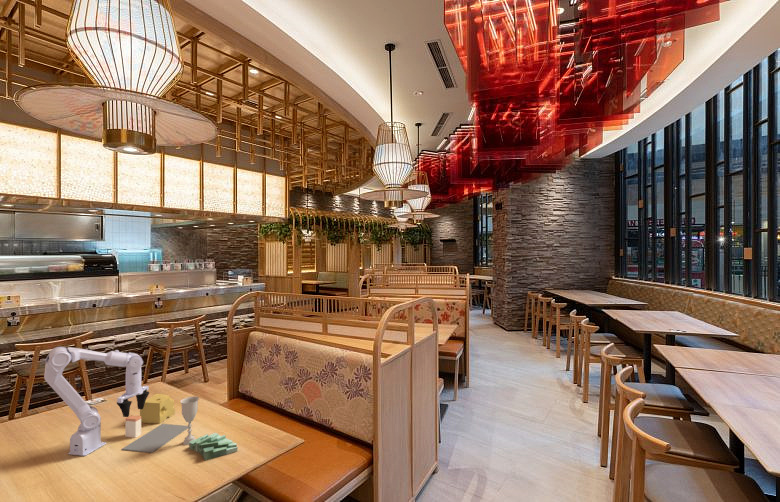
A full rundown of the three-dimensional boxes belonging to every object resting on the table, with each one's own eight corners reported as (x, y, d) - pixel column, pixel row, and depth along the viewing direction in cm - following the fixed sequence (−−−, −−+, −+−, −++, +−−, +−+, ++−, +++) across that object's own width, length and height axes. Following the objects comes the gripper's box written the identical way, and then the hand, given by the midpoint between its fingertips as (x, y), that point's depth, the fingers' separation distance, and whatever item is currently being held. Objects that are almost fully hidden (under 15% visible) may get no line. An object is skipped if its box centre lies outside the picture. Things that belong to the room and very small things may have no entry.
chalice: (190, 447, 152) (190, 404, 152) (176, 445, 154) (176, 402, 153) (202, 438, 159) (202, 397, 159) (188, 436, 161) (189, 395, 161)
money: (180, 455, 147) (180, 443, 147) (212, 435, 162) (212, 424, 162) (218, 465, 140) (218, 453, 140) (248, 444, 155) (249, 433, 155)
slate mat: (152, 452, 148) (152, 451, 148) (121, 449, 150) (121, 448, 150) (189, 426, 170) (189, 426, 170) (162, 424, 172) (162, 423, 172)
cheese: (175, 414, 183) (175, 394, 182) (159, 424, 172) (159, 403, 172) (155, 413, 184) (155, 393, 184) (138, 423, 173) (138, 402, 173)
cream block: (135, 437, 160) (135, 419, 160) (125, 436, 160) (125, 418, 160) (141, 434, 163) (141, 416, 163) (131, 433, 163) (131, 415, 163)
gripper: (127, 388, 154) (127, 420, 154) (154, 376, 168) (154, 406, 168) (112, 387, 155) (112, 419, 155) (140, 375, 169) (140, 405, 169)
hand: (133, 412), depth 162 cm, fingers open, 7 cm apart
